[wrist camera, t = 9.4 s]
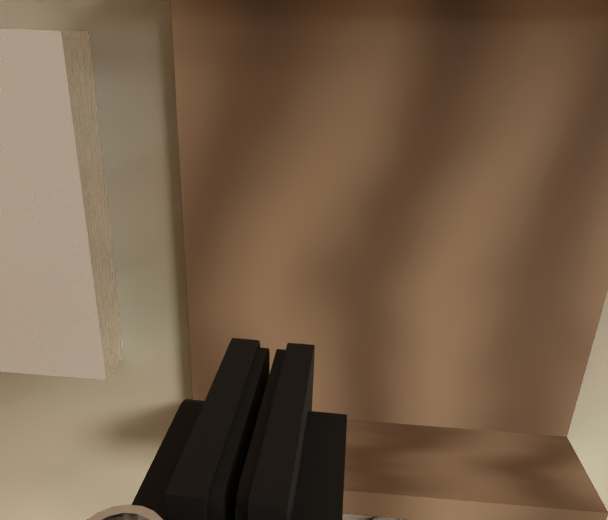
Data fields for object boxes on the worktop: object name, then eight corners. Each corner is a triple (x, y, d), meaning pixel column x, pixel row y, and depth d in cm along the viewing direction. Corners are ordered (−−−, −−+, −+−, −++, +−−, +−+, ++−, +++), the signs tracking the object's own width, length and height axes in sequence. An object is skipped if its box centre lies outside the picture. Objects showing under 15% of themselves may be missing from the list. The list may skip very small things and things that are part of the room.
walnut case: (684, -38, 18) (803, -65, 13) (554, 445, 25) (600, 536, 21) (174, -52, 19) (117, -81, 14) (198, 417, 26) (166, 497, 22)
